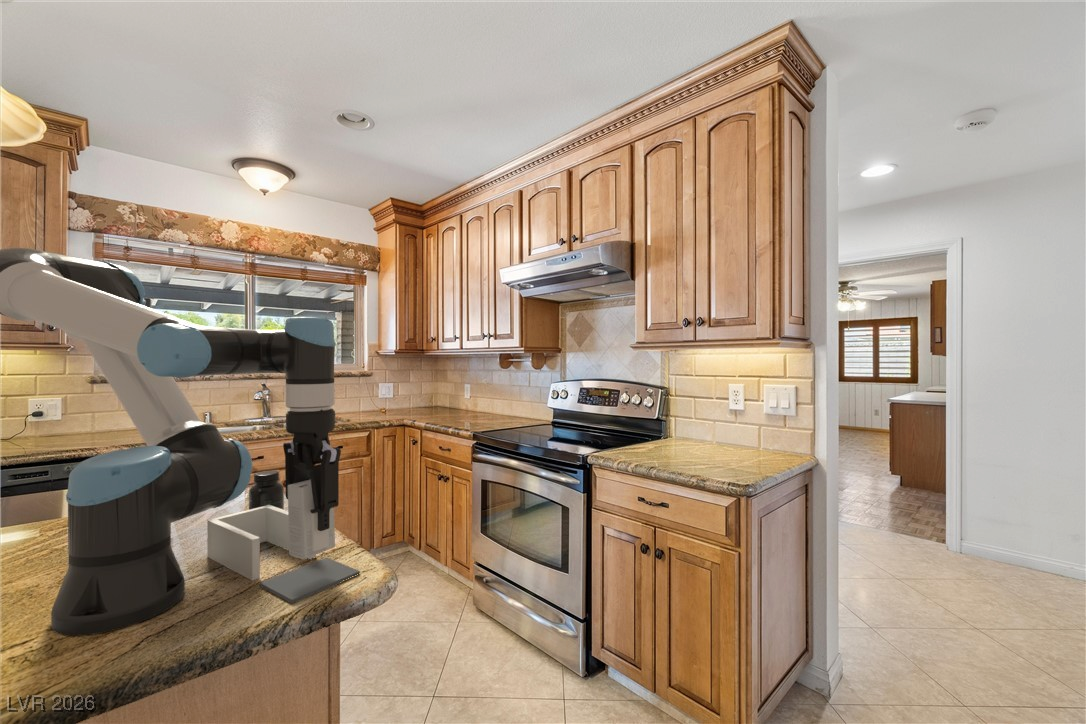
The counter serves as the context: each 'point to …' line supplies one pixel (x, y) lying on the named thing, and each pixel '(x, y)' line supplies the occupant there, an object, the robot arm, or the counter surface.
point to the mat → (308, 579)
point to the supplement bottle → (266, 490)
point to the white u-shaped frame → (246, 538)
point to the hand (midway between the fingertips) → (311, 544)
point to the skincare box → (304, 521)
